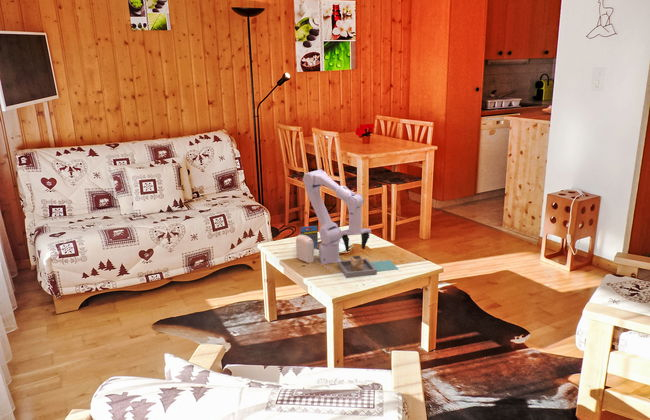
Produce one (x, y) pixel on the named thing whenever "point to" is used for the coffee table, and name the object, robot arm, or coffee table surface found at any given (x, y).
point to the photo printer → (305, 248)
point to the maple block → (356, 263)
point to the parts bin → (347, 271)
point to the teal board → (384, 265)
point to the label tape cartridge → (310, 234)
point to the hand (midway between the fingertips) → (355, 249)
